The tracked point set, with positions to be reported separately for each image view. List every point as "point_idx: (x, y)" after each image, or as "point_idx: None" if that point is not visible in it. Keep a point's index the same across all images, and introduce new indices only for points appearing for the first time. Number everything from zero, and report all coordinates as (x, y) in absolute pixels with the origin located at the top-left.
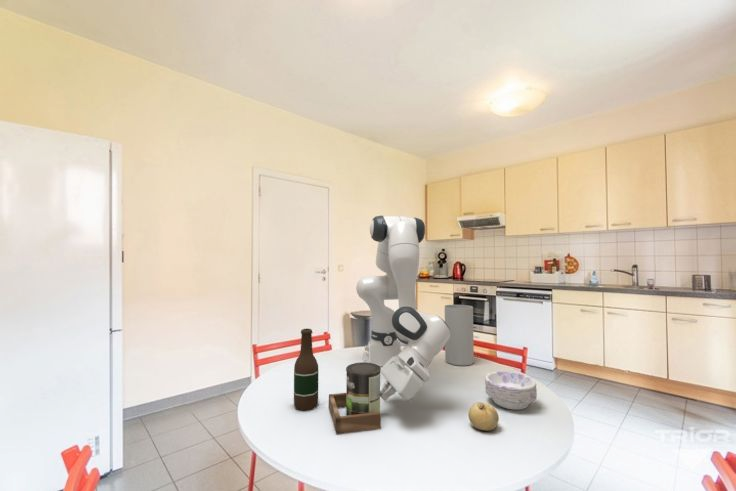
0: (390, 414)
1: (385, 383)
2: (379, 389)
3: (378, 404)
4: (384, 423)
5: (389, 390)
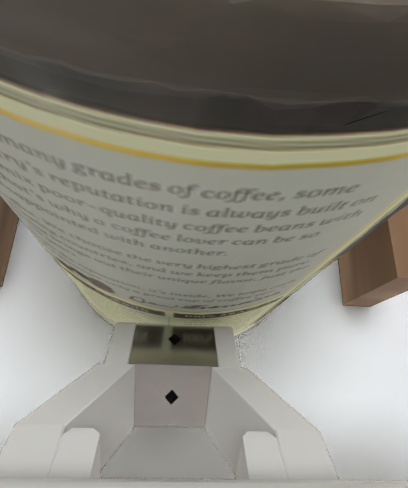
0: (147, 436)
1: (280, 438)
2: (54, 246)
3: (72, 280)
4: (28, 336)
5: (30, 426)
